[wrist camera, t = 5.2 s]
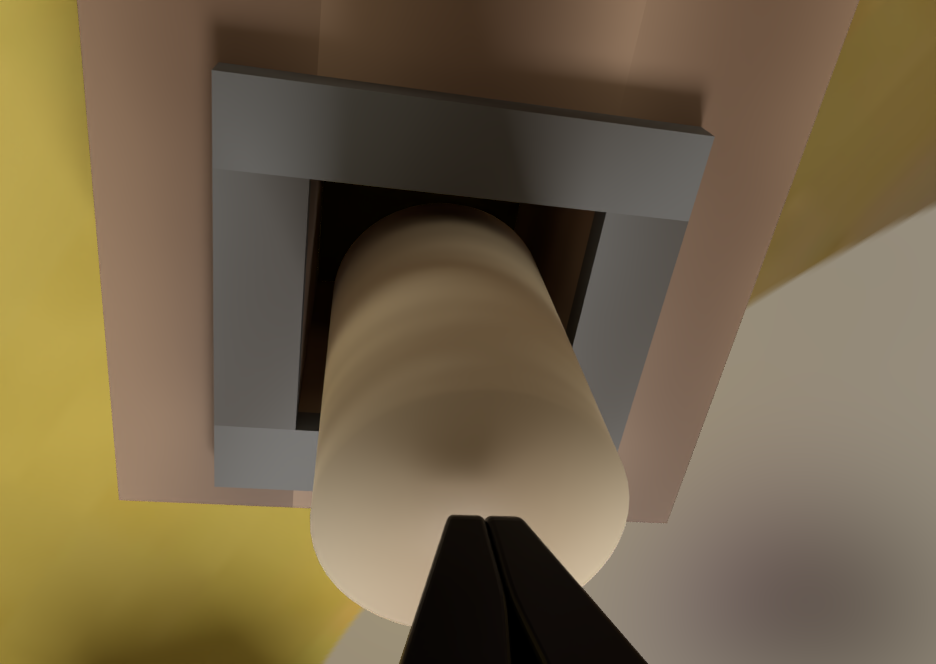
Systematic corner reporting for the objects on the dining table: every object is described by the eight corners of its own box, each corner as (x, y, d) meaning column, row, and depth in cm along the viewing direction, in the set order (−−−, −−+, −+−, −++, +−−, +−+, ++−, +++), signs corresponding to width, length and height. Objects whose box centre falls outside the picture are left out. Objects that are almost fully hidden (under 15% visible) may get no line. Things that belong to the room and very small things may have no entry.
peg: (326, 380, 15) (302, 628, 10) (340, 190, 14) (320, 376, 8) (520, 395, 16) (589, 633, 11) (560, 215, 14) (666, 401, 9)
